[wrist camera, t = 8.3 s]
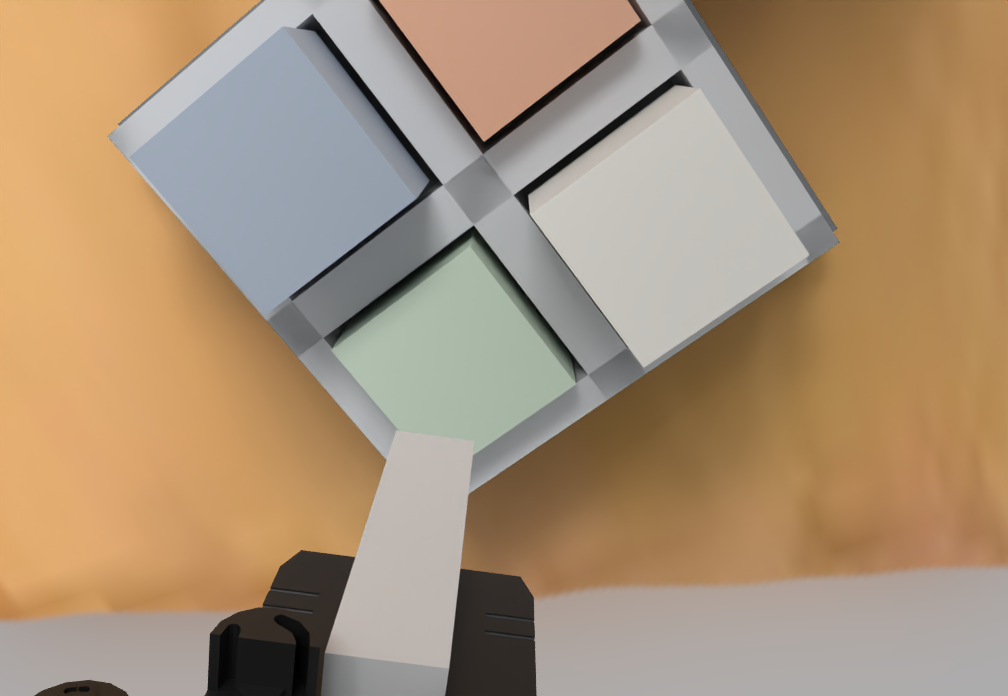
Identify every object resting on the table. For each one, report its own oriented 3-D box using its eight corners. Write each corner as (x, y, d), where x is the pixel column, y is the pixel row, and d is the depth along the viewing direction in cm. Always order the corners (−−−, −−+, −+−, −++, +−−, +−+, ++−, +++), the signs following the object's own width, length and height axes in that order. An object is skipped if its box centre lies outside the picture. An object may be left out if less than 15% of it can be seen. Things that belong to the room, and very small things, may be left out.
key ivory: (674, 84, 24) (699, 88, 21) (771, 230, 25) (809, 254, 22) (528, 194, 25) (530, 214, 22) (627, 329, 26) (643, 367, 23)
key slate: (315, 31, 24) (283, 26, 21) (429, 180, 25) (416, 198, 22) (180, 144, 25) (128, 157, 22) (297, 282, 26) (264, 314, 23)
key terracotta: (522, -128, 25) (523, -157, 21) (624, 25, 26) (641, 20, 22) (382, -11, 26) (363, -22, 22) (488, 132, 27) (483, 141, 23)
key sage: (475, 224, 28) (470, 246, 24) (569, 347, 29) (576, 384, 25) (352, 316, 29) (330, 350, 25) (448, 432, 30) (439, 478, 26)
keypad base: (535, -217, 26) (540, -279, 21) (816, 218, 30) (874, 247, 25) (143, 120, 29) (71, 131, 24) (443, 474, 33) (431, 544, 28)
